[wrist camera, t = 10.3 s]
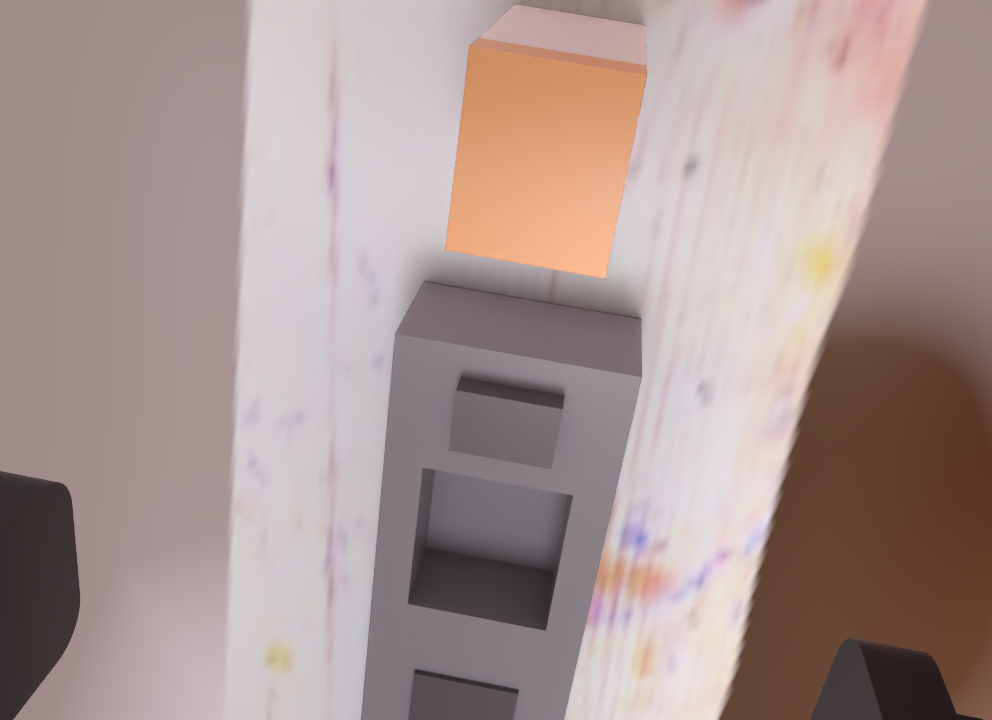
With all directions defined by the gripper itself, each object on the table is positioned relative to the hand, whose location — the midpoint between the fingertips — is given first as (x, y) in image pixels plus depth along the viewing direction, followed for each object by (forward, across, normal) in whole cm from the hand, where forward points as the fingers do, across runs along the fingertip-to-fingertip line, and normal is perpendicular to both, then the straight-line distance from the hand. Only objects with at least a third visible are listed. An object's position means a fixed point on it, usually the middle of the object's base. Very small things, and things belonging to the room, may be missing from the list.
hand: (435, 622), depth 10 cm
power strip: (+20, 0, +16) cm, 26 cm away
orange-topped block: (+20, 0, -2) cm, 20 cm away
